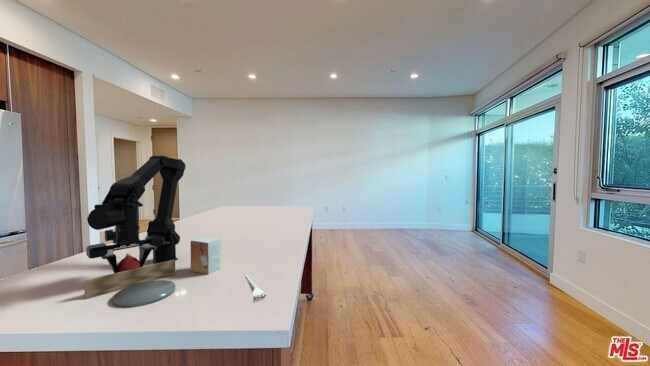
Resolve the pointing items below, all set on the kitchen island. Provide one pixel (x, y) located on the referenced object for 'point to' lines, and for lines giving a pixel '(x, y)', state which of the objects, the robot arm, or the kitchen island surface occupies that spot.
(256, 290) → the fork
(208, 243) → the small box
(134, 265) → the onion
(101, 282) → the walnut screen
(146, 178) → the robot arm
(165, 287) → the slate plate
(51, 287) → the kitchen island surface
